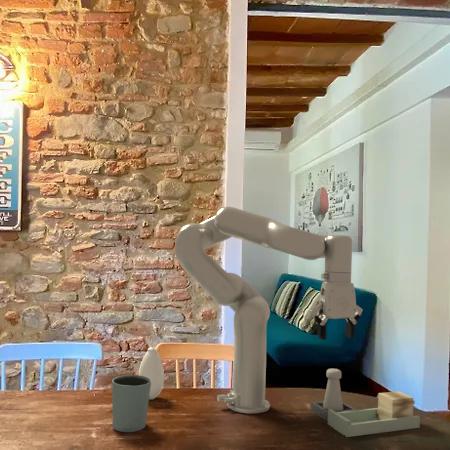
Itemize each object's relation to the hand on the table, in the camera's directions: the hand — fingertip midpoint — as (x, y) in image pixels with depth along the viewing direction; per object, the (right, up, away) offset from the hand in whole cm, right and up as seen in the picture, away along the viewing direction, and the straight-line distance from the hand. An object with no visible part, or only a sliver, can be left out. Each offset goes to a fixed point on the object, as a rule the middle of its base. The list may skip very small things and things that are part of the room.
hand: (335, 338), depth 150 cm
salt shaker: (-1, -22, 0) cm, 22 cm away
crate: (+15, -22, -5) cm, 28 cm away
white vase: (-55, -21, +9) cm, 59 cm away
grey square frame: (-1, -22, 0) cm, 22 cm away
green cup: (-57, -20, -13) cm, 62 cm away
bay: (+9, -22, -8) cm, 25 cm away
